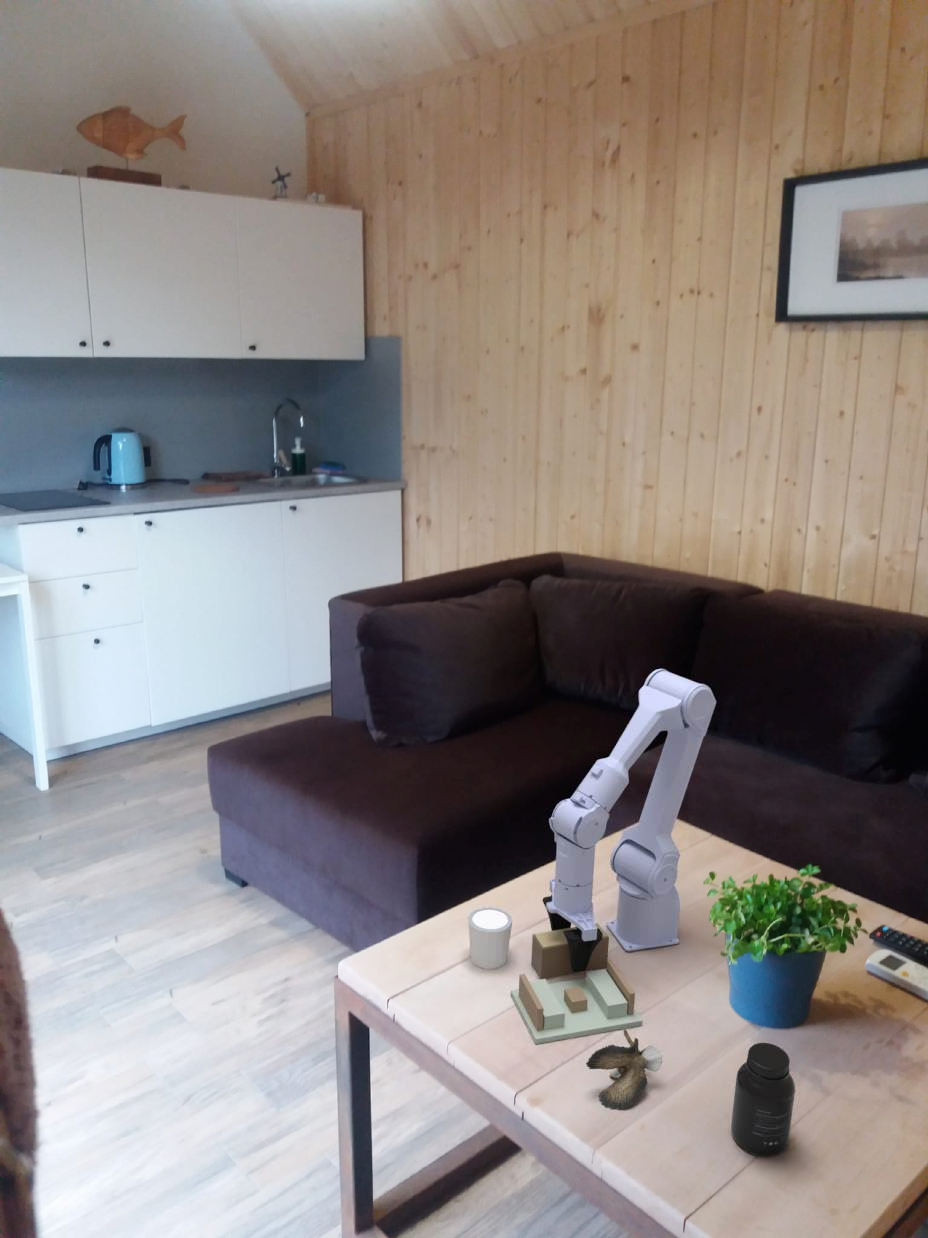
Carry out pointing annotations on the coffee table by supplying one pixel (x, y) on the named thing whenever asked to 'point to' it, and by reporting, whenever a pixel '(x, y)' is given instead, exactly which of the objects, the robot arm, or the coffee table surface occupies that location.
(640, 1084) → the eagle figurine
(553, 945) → the tan rectangular box
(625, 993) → the display cradle
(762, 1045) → the supplement bottle
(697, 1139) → the coffee table surface
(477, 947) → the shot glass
